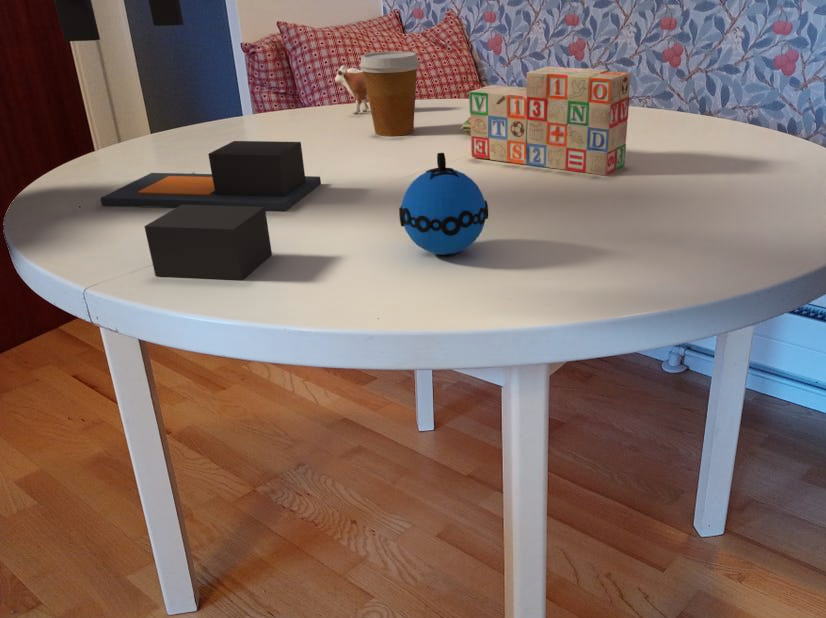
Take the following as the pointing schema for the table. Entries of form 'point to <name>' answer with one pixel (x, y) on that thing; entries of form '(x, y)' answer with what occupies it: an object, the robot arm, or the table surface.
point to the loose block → (209, 241)
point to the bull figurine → (354, 85)
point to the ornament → (443, 210)
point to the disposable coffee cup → (391, 90)
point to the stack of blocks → (554, 120)
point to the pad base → (212, 200)
